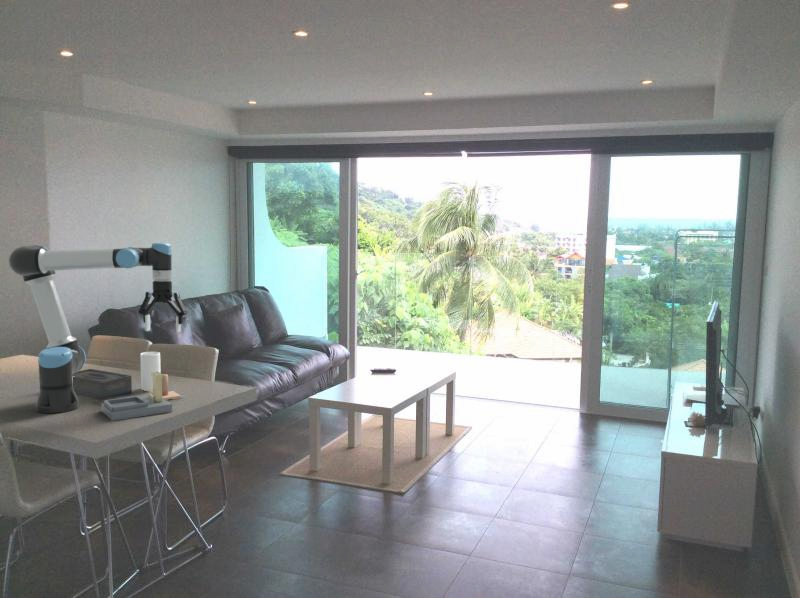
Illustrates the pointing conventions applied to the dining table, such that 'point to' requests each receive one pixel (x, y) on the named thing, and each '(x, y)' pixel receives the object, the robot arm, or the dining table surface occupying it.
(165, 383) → the cover
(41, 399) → the robot arm
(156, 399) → the key
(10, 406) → the dining table surface
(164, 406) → the housing
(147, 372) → the cup
